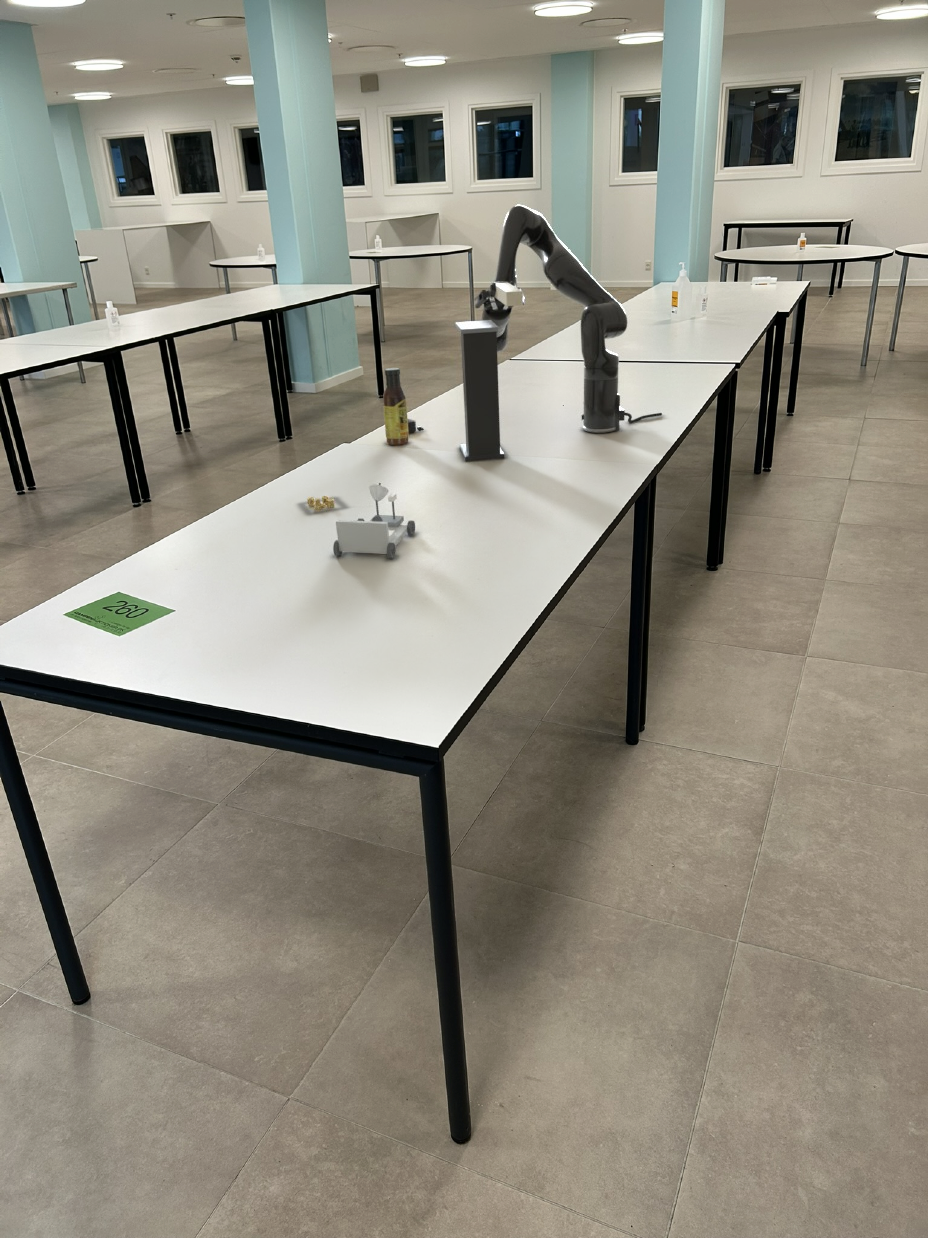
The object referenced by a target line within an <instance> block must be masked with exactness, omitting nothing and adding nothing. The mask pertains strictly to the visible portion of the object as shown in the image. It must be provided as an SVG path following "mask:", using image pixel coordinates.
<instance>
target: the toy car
mask: <svg viewBox="0 0 928 1238" xmlns="http://www.w3.org/2000/svg"><path fill="white" fill-rule="evenodd" d="M368 490H369V493H370V496H371V498H372V499H373V501H374V502H375V510H376V514H374V516H372V518H371V519H370V520H365V519H364V518H362V517H360V518H358V519H357V520H353V519H351V520H350V519H337V520H335V526H336V536H337V539H336V540H334V542H333V546H332V551H333V554H334V556H336V557H340V556H342V554H343V552H344V553H362V554H379V555H380V554H384V555H386V556H387V558H388V559H392V560H393V559H394V558H395V557H396V553H397V552H396V550H397V548H396V546H397V545H399V543H400V542H401V541H402V539H403V538H404V537H405V536H406V535H408V536H414V535H415V532H416V522H415V521H414V520H411V519H410V520H408V521H407V524H403V522H404V521H405V518H404V515H396V513H395V501H396V500H397V493H390V494H389V495H388V493H389V489H388V488H387V487H386V486H383V485H382V483H381V482H378V484H372V485H369V487H368ZM387 495H388V497H387V499H388V502H391V510H392V514H391V515H389V514H380V513H379V512H380V511H379V502H380V501H382V500H383V499H384V498H385V497H386V496H387Z"/></svg>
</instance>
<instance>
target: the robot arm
mask: <svg viewBox="0 0 928 1238" xmlns="http://www.w3.org/2000/svg"><path fill="white" fill-rule="evenodd" d="M520 244H521V245H525V246H527V247H529V248H530V249H531V250H532V251H533V252H534V253H535V254H536V255H537V257H539V258H540V260H541V264H542V270H543V273H544V276H545V278H546V279H547V280H548V281H549V283H550V284H551V285H552V287H554V289H555V290H556V291H557V292H558V293H559V294H561V295H562V296H564V297H566V298H567V299H569V300H572V301H574V302H576V303H578V304H580V305H582V306H583V307H584V309H583V310H582V313H581V317H580V343H581V345H580V347H581V355H582V360H583V414H582V415H581V421H583V423H582V430H583V431H584V432H587V433H591V434H593V433H594V434H606V433H611V432H616V431H620V422H621V421H625V416H626V417H628V419H627V422H628V423H629V424H632V423H636V422H639V421H641V420H643V419H649V418H654V417H660V416H663V414H662V412H657V413H652V414H644V415H641V416H638V417H637V418H634V419H632V418H633V417H632V414H631V413H629V412H626V411H625V409H624V408H622V406H621V395H620V394H619V366H620V357H619V355H618V354H617V353H616V352H612V351H610V350H608V349H607V348H606V340H609V339H615V338H618V337H620V336H622V335H623V334H624V333H625V332H626V331H627V329H628V316H627V313H626V311H625V309H624V307H623V306H622V304H621V303H620V302H618V301H617V299H616V298H614V297H613V296H612V295H611V294H610V293H609V292H607V290H605V289H604V288H603V287H602V286H601V285H600V284H599V282H598V281H596V279H595V278H594V277H593V276H592V274H590V272H588V270H587V269H586V268H585V267H584V266H583V264H582V263H581V262H580V261H579V259H578V258H577V257H576V256H575V255H574V254H573V253H572V252H571V250H570V249H568V247H567V246H566V245H565V244H564V243H563V242H562V241H561V240H560V239H559V238H558V236H557V235H556V234H555V232H554V231H553V229H552V227H551V226H550V224H549V223H548V221H547V220H546V218H545V217H544V216H543V214H542V213H540V212H538V211H537V210H534V209H531V208H530V207H527V206H525V205H521V204H517V205H514V206H512V207H511V208H510V209H509V210H508V212H507V214H506V215H505V219H504V223H503V226H502V232H501V239H500V246H499V253H498V258H497V259H498V260H497V267H496V273H495V277H494V281H493V282H503V281H508V283H509V284H511V285H513V286H515V287H516V288H518V289H520V290H521V291H522V289H521V287H518V277H517V276H518V275H517V266H516V265H517V253H518V249H519V246H520ZM495 293H496V283H493V284H492V283H491V284H490V285H489V288H488V290H486V289H482V290H481V291H480V292H479V293H478V294H477V295H476V296H475V297H474V308H475V309H480V308H482V307H483V309H482V314H481V319H480V321H484V320H491V321H493V322H494V323H495V324H496V325H497V326H498V327H499V331H496V332H497V353H501V352H503V351H504V350H505V349H506V347H507V346H508V341H509V322H510V318H511V313H512V309H513V307H514V306H506V305H505V304H503V303H502V302H500V301H499V300H498V299H496V298H495ZM522 306H525V296H524V294H523V305H522Z"/></svg>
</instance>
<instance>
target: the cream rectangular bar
mask: <svg viewBox="0 0 928 1238" xmlns="http://www.w3.org/2000/svg"><path fill="white" fill-rule="evenodd" d="M493 283H496V293H495V298H496V299H498V300H499V301H500V302H502V303H503V304H505V305H506V306H513V307H517V306H519V307H520V306H524V305H523V295H524V291H523V290H522V289H521V288H520V289H521V290H520V289H518V288H519V287H517V288H516V287H515V286H513V285H511V284H509V283H508V281H503V282H494V281H491V285H492V284H493Z"/></svg>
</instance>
